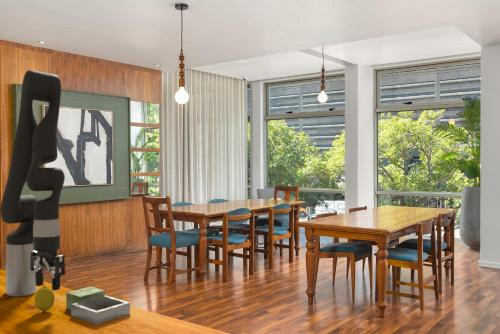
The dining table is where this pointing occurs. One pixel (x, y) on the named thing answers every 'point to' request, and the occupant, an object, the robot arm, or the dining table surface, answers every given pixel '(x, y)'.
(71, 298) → the square open box
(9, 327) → the dining table surface
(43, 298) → the lemon
